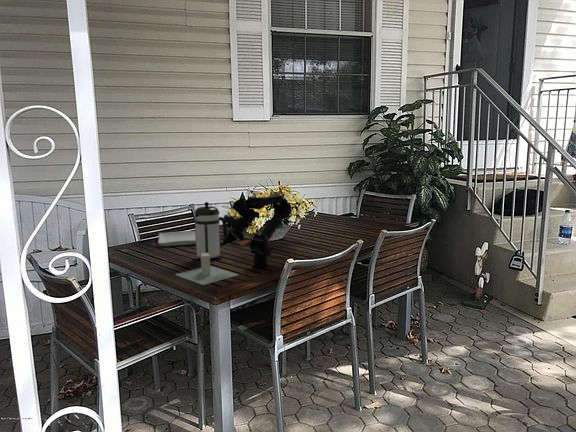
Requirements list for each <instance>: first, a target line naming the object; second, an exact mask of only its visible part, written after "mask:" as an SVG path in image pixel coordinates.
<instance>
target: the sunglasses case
mask: <svg viewBox="0 0 576 432" xmlns="http://www.w3.org/2000/svg"><path fill="white" fill-rule="evenodd" d="M251 239H252V238H249V237H244V239H243V240H242V241H240V240H239V239H238V240H235V241H233V242H230V243H229V244H232V245H235V246H239V247H241V248H242V247H245V248H246V247H250V243H251V241H252V240H251Z"/></svg>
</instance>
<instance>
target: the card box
mask: <svg viewBox="0 0 576 432" xmlns="http://www.w3.org/2000/svg"><path fill="white" fill-rule="evenodd" d="M210 266H211V258H210V255H209V253H201V258H200V268H201V272H202V275H211V274H210Z"/></svg>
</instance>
